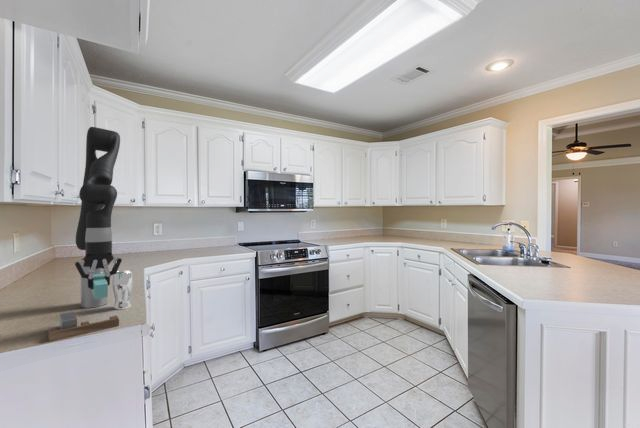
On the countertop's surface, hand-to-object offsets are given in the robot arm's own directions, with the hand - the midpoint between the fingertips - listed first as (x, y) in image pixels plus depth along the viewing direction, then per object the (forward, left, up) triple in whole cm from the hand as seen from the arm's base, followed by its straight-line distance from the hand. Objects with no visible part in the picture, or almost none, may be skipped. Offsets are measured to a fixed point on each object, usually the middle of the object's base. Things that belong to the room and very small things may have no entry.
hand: (99, 287), depth 102 cm
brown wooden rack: (+4, -4, -13) cm, 14 cm away
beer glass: (-15, +10, -13) cm, 22 cm away
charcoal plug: (0, -8, -13) cm, 16 cm away
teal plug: (-1, 0, -2) cm, 2 cm away
